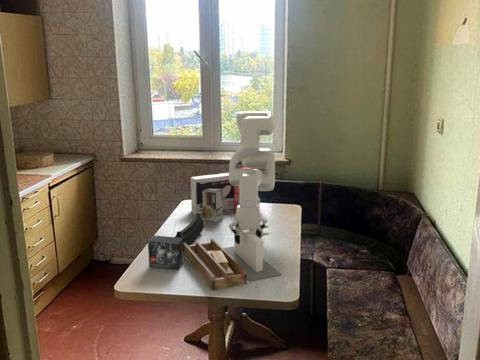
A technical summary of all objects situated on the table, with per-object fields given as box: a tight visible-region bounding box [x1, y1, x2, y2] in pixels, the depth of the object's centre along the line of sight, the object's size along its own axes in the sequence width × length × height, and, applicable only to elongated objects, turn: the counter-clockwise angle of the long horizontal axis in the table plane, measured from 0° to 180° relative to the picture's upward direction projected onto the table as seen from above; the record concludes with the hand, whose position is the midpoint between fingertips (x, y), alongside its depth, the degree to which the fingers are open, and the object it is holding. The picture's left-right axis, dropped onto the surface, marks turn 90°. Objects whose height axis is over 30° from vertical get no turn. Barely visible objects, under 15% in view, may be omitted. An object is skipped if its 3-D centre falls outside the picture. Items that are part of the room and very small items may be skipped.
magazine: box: [174, 213, 205, 245], centre depth 221 cm, size 17×3×30 cm
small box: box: [147, 235, 184, 271], centre depth 197 cm, size 13×7×12 cm, turn 80°
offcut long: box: [207, 250, 234, 276], centre depth 198 cm, size 4×24×3 cm, turn 20°
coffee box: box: [202, 188, 224, 223], centre depth 254 cm, size 9×6×16 cm
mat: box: [223, 245, 282, 282], centre depth 203 cm, size 14×34×1 cm, turn 24°
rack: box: [183, 238, 248, 291], centre depth 196 cm, size 14×36×6 cm, turn 24°
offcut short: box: [211, 250, 228, 268], centre depth 197 cm, size 4×12×2 cm, turn 15°
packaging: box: [190, 172, 234, 215], centre depth 270 cm, size 30×6×20 cm, turn 117°
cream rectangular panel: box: [233, 226, 264, 272], centre depth 202 cm, size 3×22×13 cm, turn 24°
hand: (248, 241), depth 201 cm, fingers open, 9 cm apart
